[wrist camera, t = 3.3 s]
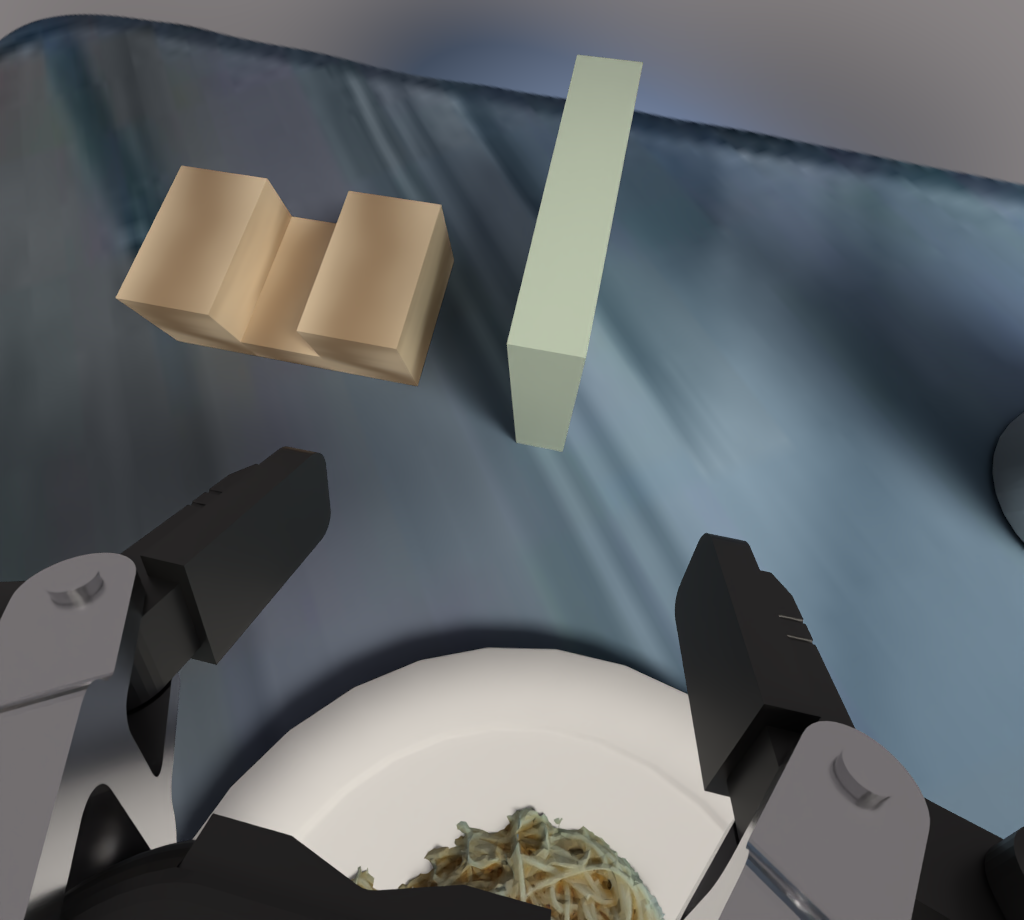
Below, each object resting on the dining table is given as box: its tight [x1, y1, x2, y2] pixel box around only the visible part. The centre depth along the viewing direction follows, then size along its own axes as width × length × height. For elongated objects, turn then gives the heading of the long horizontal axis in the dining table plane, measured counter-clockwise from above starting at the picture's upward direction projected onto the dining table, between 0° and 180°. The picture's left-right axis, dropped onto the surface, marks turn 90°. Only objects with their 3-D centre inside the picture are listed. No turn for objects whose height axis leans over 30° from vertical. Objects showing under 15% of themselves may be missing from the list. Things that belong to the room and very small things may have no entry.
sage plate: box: [507, 55, 643, 452], centre depth 20 cm, size 2×12×10 cm, turn 168°
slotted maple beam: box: [116, 166, 454, 386], centre depth 24 cm, size 14×8×4 cm, turn 78°
